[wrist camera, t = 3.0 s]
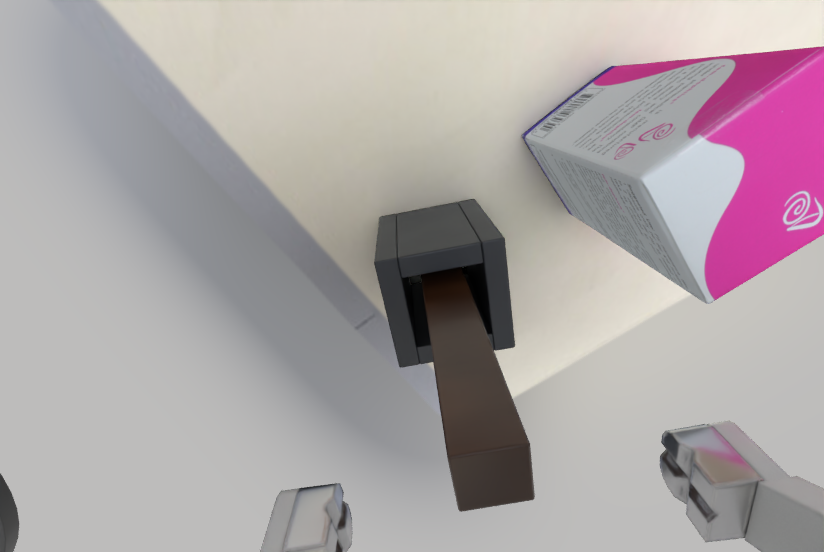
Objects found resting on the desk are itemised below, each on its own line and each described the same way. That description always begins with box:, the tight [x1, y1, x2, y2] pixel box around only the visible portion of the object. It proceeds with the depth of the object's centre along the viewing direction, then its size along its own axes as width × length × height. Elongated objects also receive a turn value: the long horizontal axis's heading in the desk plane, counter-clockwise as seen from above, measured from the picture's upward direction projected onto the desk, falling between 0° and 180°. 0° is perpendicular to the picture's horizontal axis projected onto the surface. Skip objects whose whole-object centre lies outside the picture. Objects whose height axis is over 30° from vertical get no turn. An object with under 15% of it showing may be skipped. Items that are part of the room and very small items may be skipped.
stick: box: [421, 267, 535, 511], centre depth 17 cm, size 2×2×16 cm
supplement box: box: [522, 47, 824, 304], centre depth 17 cm, size 6×6×12 cm
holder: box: [374, 199, 515, 368], centre depth 22 cm, size 6×6×7 cm
